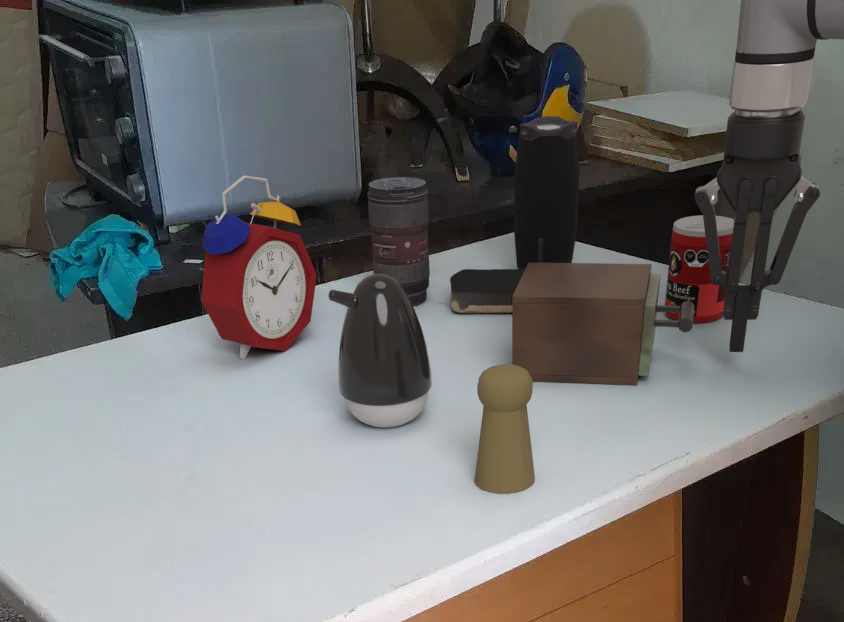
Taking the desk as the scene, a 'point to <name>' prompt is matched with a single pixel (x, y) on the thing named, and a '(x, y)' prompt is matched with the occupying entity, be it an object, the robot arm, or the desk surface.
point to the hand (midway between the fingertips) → (736, 347)
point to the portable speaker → (546, 191)
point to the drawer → (659, 321)
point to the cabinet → (580, 322)
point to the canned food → (696, 268)
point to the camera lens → (401, 233)
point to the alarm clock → (257, 277)
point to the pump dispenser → (382, 353)
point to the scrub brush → (484, 290)
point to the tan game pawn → (504, 430)
